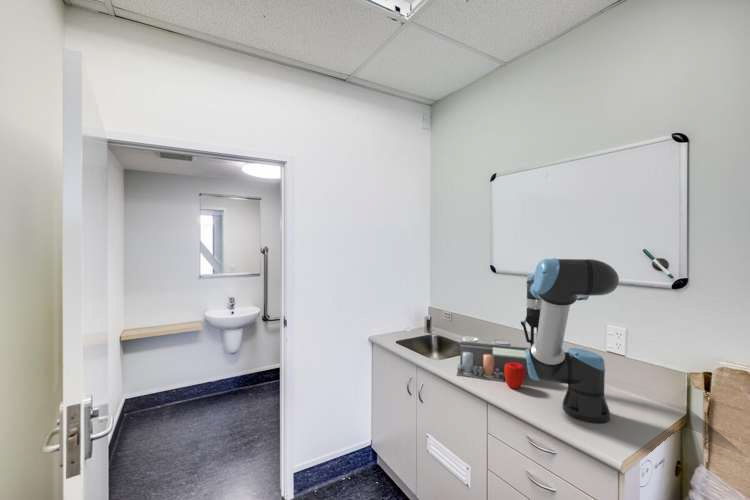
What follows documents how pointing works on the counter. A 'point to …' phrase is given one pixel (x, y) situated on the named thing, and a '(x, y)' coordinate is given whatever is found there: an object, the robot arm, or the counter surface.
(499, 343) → the disposable coffee cup
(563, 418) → the counter surface
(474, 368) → the housing
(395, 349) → the counter surface
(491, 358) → the peg
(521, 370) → the apple
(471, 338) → the cup
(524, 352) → the lid
